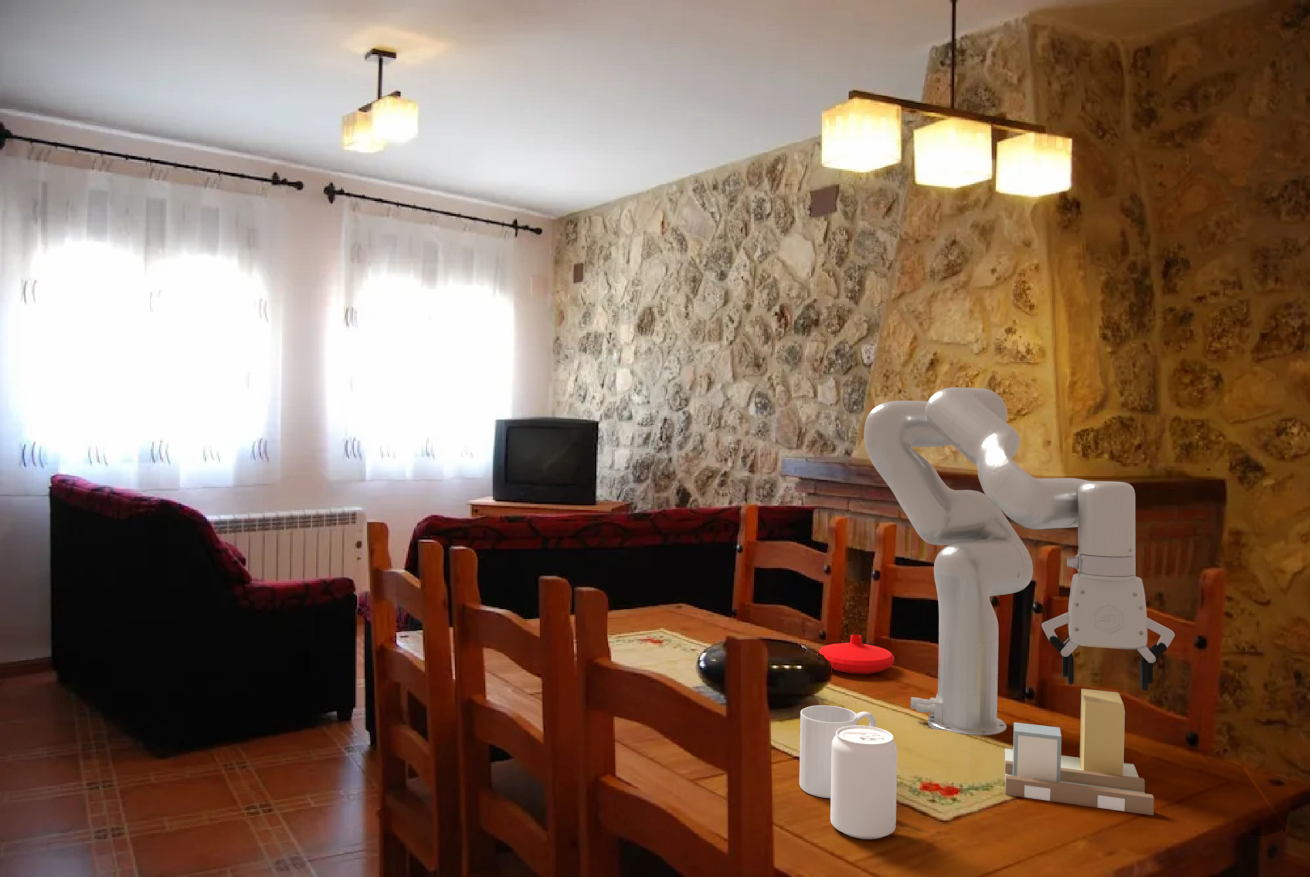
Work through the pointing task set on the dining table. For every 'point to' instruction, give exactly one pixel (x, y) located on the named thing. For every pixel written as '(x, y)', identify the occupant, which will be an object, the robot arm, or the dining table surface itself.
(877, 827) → the beverage can
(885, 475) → the robot arm
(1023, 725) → the box
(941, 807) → the dining table surface
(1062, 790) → the shelf
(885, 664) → the red disc with nozzle
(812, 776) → the mug
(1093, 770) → the carton
